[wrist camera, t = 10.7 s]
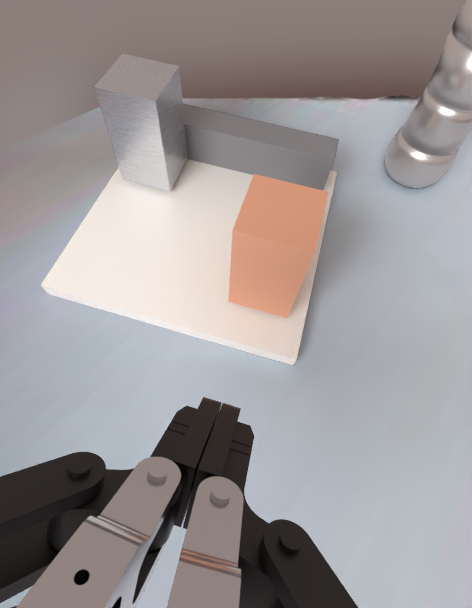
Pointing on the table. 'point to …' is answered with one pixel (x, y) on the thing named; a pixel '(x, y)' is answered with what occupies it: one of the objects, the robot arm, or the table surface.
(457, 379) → the table surface
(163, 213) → the plate
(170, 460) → the robot arm
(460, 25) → the plastic bottle
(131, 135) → the brushed metal pillar
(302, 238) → the tall salmon pillar
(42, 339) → the table surface
